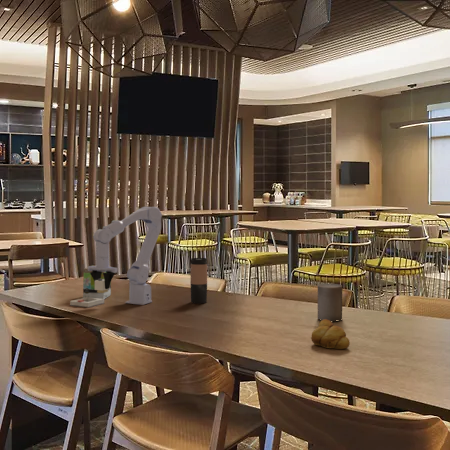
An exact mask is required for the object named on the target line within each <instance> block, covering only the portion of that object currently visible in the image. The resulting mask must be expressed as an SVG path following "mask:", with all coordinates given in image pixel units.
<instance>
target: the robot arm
mask: <svg viewBox="0 0 450 450" xmlns="http://www.w3.org/2000/svg"><path fill="white" fill-rule="evenodd" d="M162 216H163V214H162V212H161V210H160V208H159V207H157V206H141V208H138V209H136V210H135V211H134V212H132V213H131V214H129V215H127V216H125V218H123V219H121V220H118V219H117V220H115V219H114V220H112V221H111V223H110V224H107V225H106V226H105V225H104V226H102V229H101V228H99V229H97V230H95V232H94V233H93V236H92V237H93V238H92V239H93V241H95V265H88V266H87V267H88V271H92V272H91V273H90V274H91V276H92V277H93V280H94V282H95V280H98V279H101V274H102V272H106V273H103V275H104V280H105V289H109V287H110V283H111V284H112V280H113V278H114V276H115V274H116V273H118V270H119V269H118V267H113V266H111V267H109V266H110V242H111V241H112V239H113V238H115V237H116V236H119V234H122V233H123V232H124V231H125V228H126V227H128V226H129V225H131V224H133V223H135V222H137V221H139V220H142V222H143V223H145V224H146V227H147V228H148V229H147V232H146V233H145V234H146V235H145V237H144V239H143V243H142V245H141V248H140V249H139V253H138V255H137V258H136V260H135V261H134V262H132V264H131V266H130V268H129V269H128V270H127V271H126V272H127V273H126V277H127V279H128V281H129V283H128V284H129V290H128V291H129V299H128V300H126V301H124V303H125V304H131V305H132V304H133V305H142V306H143V305H146V304H150V303H153V300H152V286H151V285H150V284H149V283H146V282H147V281H148V280H149V271H150V266H149V262H150V259H151V257H152V254H153V252H154V249H155V246H156V243H157V242H158V241H157V240H158V239H159V236H160V232H161V231H162ZM107 270H108V271H107Z"/></svg>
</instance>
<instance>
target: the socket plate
mask: <svg viewBox="0 0 450 450" xmlns="http://www.w3.org/2000/svg"><path fill="white" fill-rule="evenodd" d="M104 304H105V299H99V298H89V297H85V298H83V297H81V298H77V299H74V300H73V299H72V300H70V301H69V306H71V307H80V308H87V309H89V308H92V307H95V306H96V307H97V306H100V305H104Z"/></svg>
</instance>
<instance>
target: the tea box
mask: <svg viewBox="0 0 450 450" xmlns="http://www.w3.org/2000/svg"><path fill="white" fill-rule="evenodd" d="M109 267H112V266H111V265H109ZM107 271H108V270H107ZM91 272H92V271H88V266H87V267H85V268H83V283H82V284H83V286H82V287H83V288H82V291H83V292H82V298H85V297H89V298H99V299H104V300H105V299H107V298H108V297H110V296H111V295H112V290H111V289H112V286H111V285H112V282H111V283H110V289H108V292H105V293H97V290H95V282H94V280H93V277H92V276H91V274H90V273H91ZM103 273H106V272H102V274H101V279H104V275H103Z"/></svg>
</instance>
